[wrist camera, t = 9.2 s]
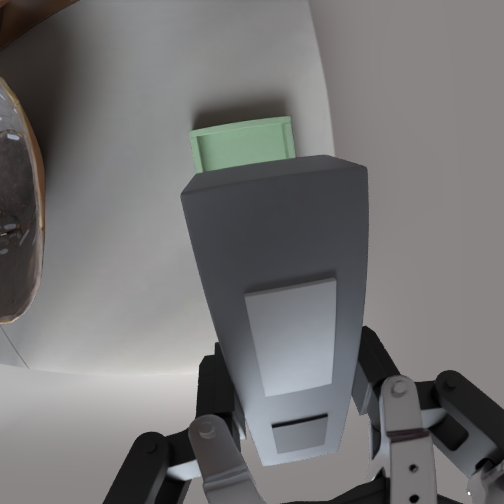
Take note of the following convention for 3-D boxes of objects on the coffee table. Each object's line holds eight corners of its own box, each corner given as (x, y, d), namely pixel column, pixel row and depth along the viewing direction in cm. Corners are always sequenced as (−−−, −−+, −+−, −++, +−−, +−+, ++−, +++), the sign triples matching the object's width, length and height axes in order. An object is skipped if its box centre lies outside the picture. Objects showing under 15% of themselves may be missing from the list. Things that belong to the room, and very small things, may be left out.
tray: (191, 131, 23) (188, 131, 21) (285, 116, 23) (290, 115, 21) (228, 308, 31) (229, 319, 29) (303, 295, 31) (308, 305, 29)
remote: (194, 173, 9) (177, 195, 6) (327, 154, 9) (371, 167, 6) (257, 426, 15) (263, 468, 12) (326, 413, 15) (339, 453, 12)
